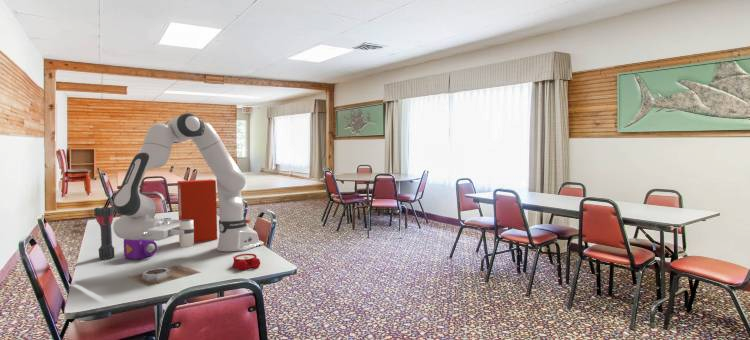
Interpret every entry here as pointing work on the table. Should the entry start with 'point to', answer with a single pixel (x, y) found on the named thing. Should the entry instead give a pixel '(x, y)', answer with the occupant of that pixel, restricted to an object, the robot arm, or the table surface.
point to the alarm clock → (246, 261)
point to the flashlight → (105, 231)
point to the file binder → (199, 207)
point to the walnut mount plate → (175, 273)
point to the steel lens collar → (156, 274)
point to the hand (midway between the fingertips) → (188, 230)
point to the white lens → (187, 233)
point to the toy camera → (139, 248)
